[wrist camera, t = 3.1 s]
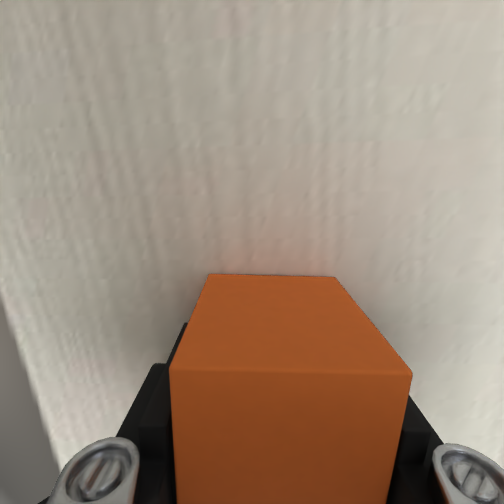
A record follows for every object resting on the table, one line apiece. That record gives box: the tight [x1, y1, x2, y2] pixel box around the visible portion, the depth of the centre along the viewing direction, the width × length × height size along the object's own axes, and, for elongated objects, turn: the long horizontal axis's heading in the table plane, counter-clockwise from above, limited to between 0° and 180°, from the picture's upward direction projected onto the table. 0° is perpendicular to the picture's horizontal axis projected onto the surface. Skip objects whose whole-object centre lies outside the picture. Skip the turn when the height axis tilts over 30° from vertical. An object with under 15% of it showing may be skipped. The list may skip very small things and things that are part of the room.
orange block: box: [169, 274, 413, 504], centre depth 8 cm, size 6×4×4 cm, turn 178°
